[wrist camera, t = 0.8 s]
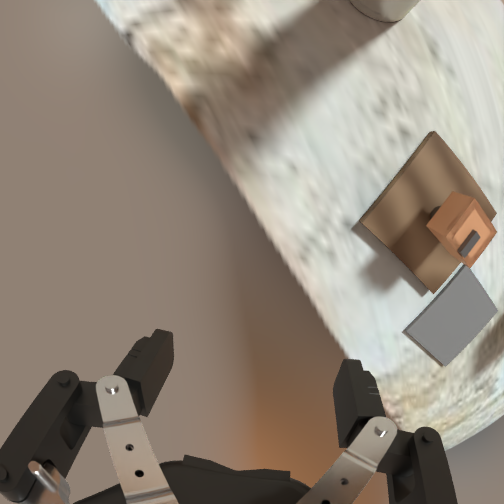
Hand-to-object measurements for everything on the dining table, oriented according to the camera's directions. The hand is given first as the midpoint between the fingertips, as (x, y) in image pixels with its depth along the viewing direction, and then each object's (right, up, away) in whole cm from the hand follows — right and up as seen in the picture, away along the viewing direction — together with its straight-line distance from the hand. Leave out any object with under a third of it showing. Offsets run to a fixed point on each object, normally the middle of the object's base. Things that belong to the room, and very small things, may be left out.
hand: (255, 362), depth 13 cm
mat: (+33, -6, +26) cm, 43 cm away
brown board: (+25, +10, +22) cm, 34 cm away
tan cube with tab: (+24, +8, +17) cm, 31 cm away
